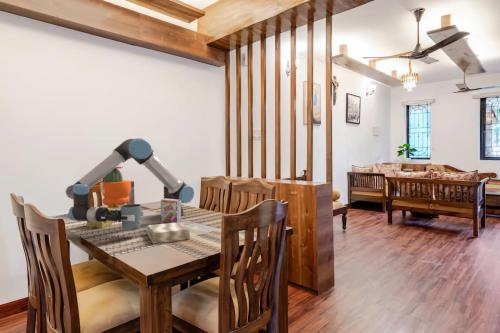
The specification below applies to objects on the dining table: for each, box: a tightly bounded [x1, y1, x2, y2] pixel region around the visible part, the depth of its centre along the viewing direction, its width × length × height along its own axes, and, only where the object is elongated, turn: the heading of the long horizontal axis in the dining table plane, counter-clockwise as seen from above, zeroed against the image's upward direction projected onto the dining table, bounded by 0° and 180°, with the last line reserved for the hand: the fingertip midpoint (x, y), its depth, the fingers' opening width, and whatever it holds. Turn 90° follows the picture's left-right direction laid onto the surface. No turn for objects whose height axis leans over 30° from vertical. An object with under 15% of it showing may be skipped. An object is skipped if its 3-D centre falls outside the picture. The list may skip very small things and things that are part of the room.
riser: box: [146, 222, 191, 244], centre depth 162 cm, size 18×18×5 cm
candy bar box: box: [160, 198, 182, 224], centre depth 181 cm, size 11×5×16 cm, turn 71°
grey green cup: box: [120, 203, 142, 231], centre depth 161 cm, size 10×10×12 cm
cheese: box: [86, 208, 113, 229], centre depth 183 cm, size 10×11×10 cm
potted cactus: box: [99, 166, 132, 211], centre depth 227 cm, size 22×22×35 cm
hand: (139, 215), depth 160 cm, fingers closed on grey green cup, 9 cm apart
